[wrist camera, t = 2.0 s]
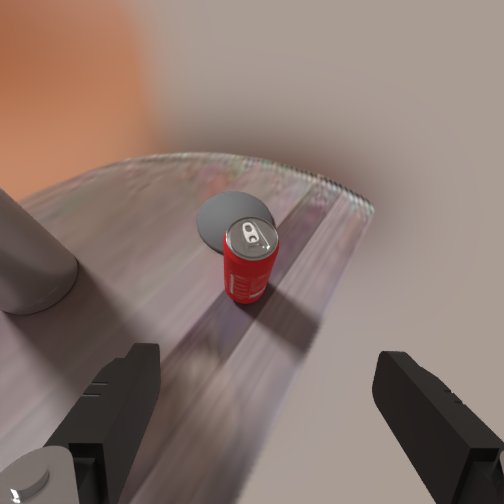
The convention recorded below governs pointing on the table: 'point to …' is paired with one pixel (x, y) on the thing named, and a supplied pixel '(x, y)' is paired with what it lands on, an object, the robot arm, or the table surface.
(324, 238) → the table surface
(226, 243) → the beverage can
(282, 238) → the table surface
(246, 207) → the rubber mat
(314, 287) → the table surface
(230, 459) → the table surface
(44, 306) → the robot arm
